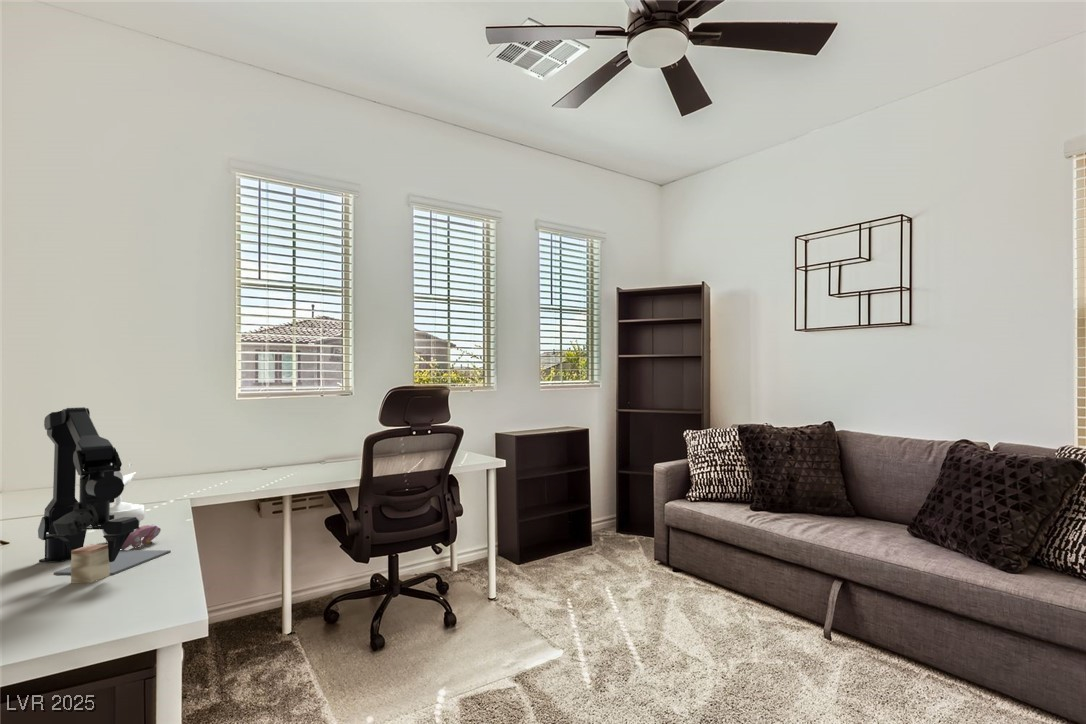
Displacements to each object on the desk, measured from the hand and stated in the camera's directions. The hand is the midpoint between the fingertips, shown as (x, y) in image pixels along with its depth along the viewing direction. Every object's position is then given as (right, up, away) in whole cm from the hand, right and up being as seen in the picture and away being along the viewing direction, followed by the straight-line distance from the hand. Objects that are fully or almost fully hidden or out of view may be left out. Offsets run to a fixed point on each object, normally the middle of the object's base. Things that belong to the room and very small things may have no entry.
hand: (94, 561), depth 132 cm
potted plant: (-19, -6, +33) cm, 38 cm away
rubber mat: (-4, -4, +11) cm, 13 cm away
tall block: (0, -4, -1) cm, 4 cm away
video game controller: (-9, -6, +27) cm, 29 cm away
